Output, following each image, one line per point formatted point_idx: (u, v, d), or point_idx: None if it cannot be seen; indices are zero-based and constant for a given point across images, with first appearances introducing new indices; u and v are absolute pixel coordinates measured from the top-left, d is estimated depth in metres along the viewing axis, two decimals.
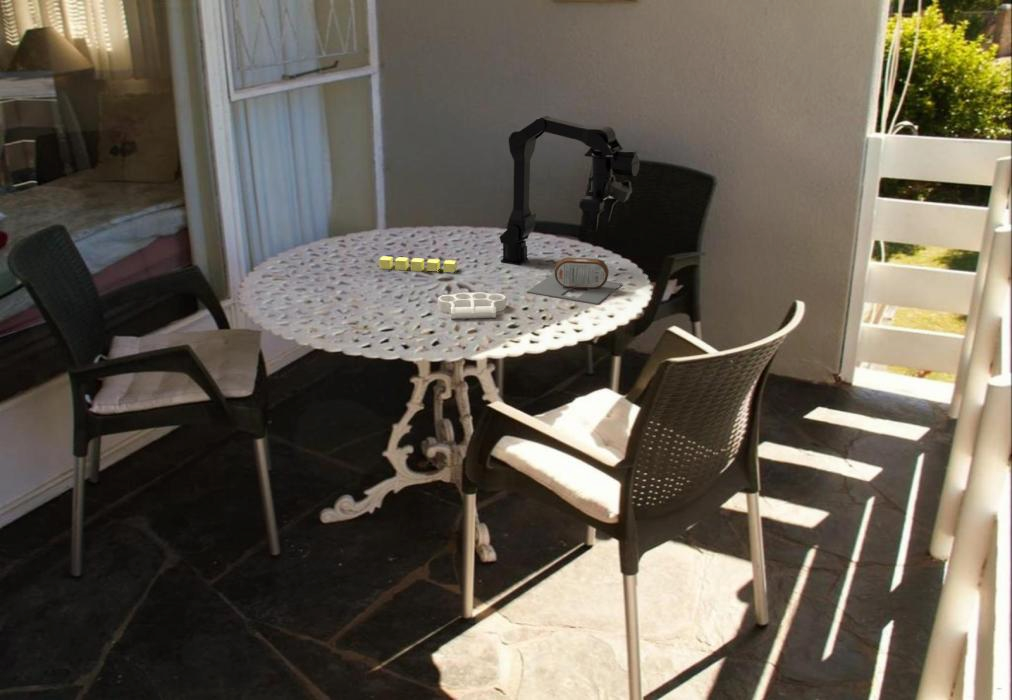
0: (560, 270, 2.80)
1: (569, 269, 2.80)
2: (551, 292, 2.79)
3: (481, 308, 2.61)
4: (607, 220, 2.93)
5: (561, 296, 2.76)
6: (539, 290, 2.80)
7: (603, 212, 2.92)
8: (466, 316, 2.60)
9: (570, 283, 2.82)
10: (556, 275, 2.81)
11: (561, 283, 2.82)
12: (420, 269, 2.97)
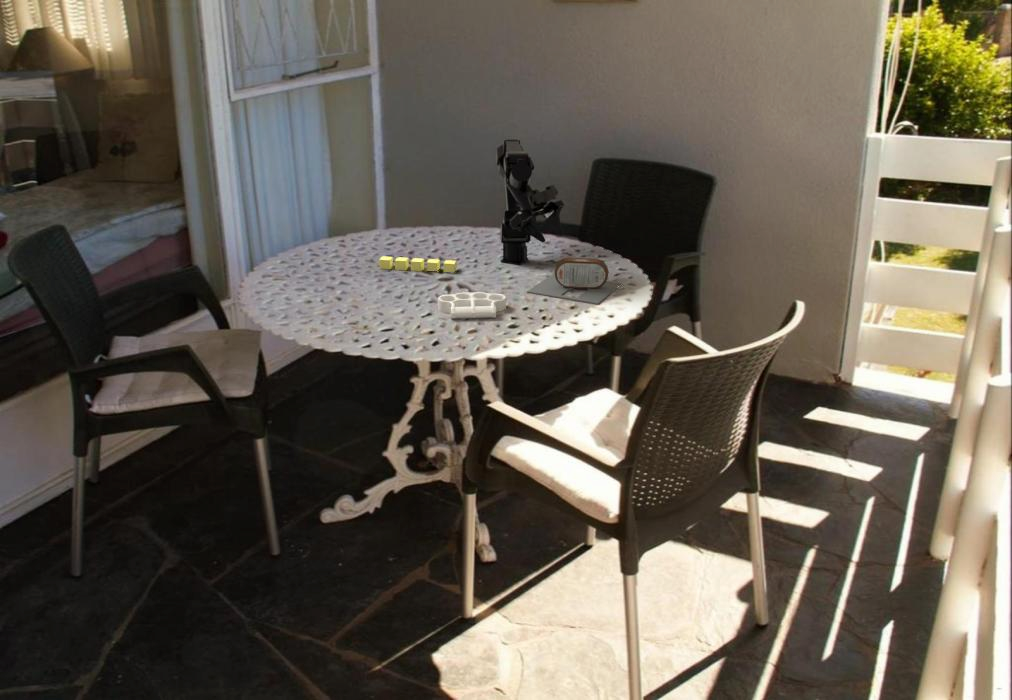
0: (560, 270, 2.80)
1: (569, 269, 2.80)
2: (551, 292, 2.79)
3: (481, 308, 2.61)
4: (561, 233, 2.88)
5: (561, 296, 2.76)
6: (539, 290, 2.80)
7: (554, 229, 2.89)
8: (466, 316, 2.60)
9: (570, 283, 2.82)
10: (556, 275, 2.81)
11: (561, 283, 2.82)
12: (420, 269, 2.97)
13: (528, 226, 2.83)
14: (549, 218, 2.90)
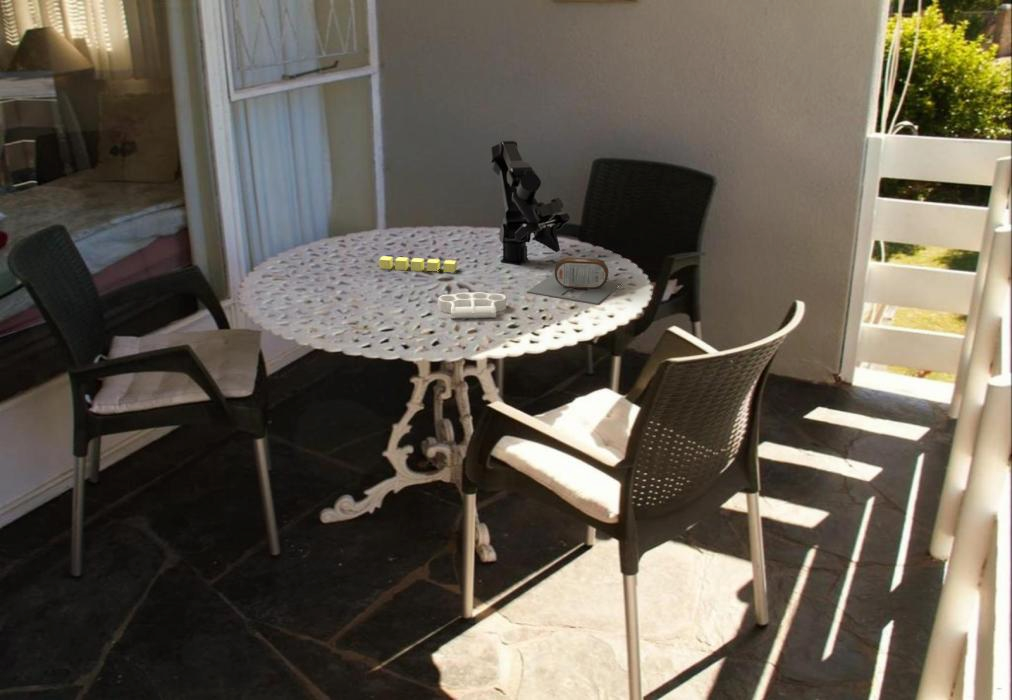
0: (560, 270, 2.80)
1: (569, 269, 2.80)
2: (551, 292, 2.79)
3: (481, 308, 2.61)
4: None
5: (561, 296, 2.76)
6: (539, 290, 2.80)
7: None
8: (466, 315, 2.60)
9: (570, 283, 2.82)
10: (556, 275, 2.81)
11: (561, 283, 2.82)
12: (420, 269, 2.97)
13: (542, 236, 2.85)
14: None
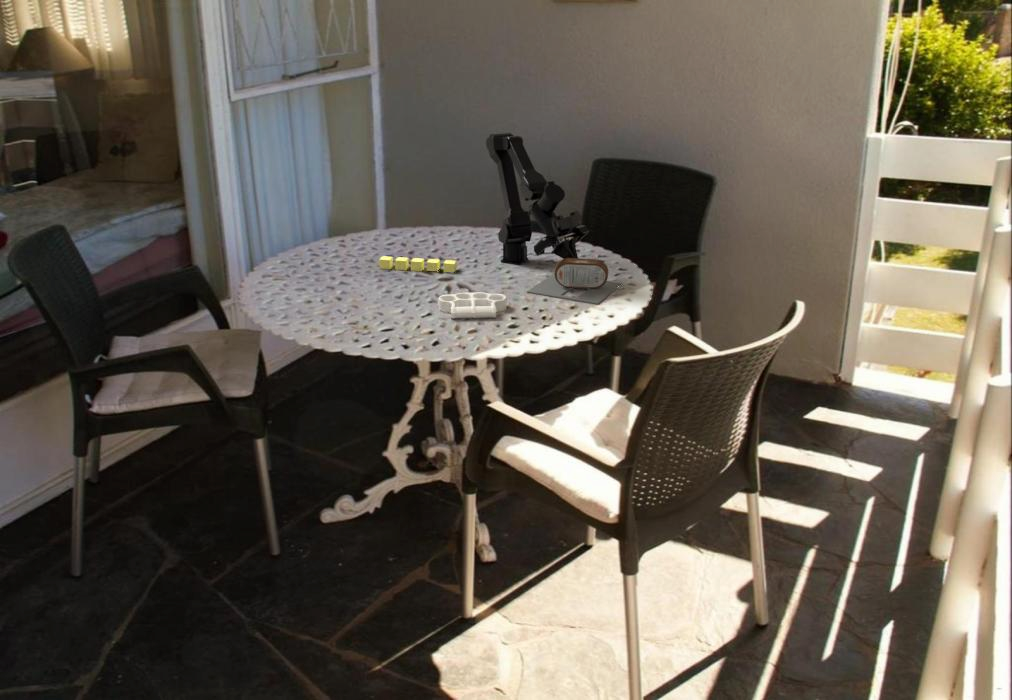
0: (560, 271, 2.80)
1: (569, 270, 2.79)
2: (551, 292, 2.79)
3: (481, 308, 2.61)
4: None
5: (561, 296, 2.76)
6: (539, 290, 2.80)
7: None
8: (466, 315, 2.60)
9: (570, 284, 2.82)
10: (556, 276, 2.81)
11: (561, 283, 2.82)
12: (420, 269, 2.97)
13: (561, 249, 2.82)
14: None
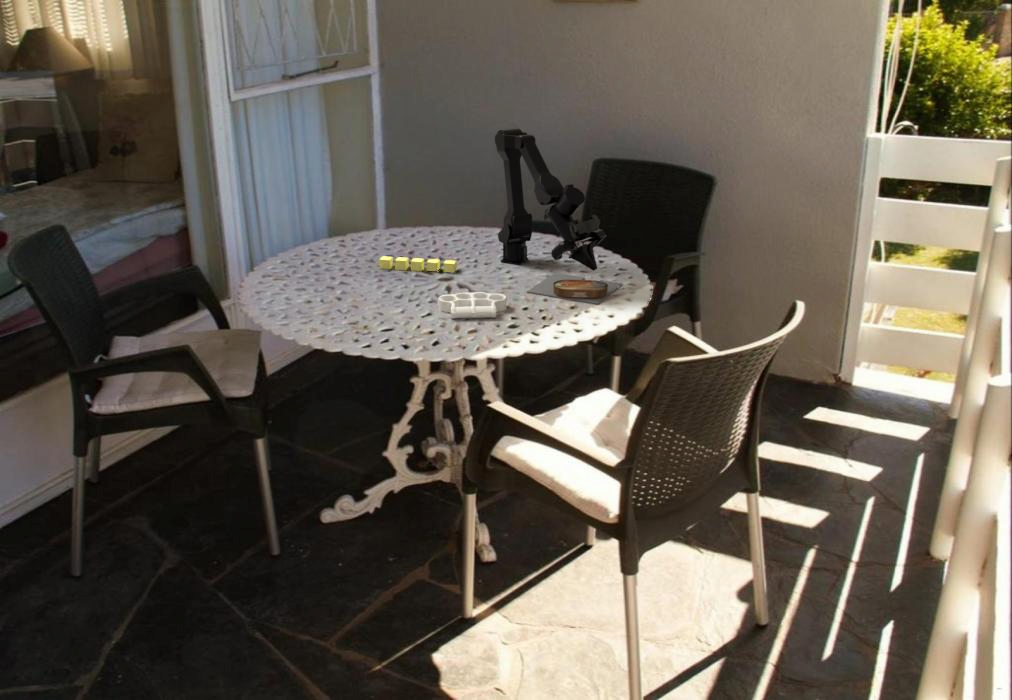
0: None
1: None
2: (551, 292, 2.79)
3: (481, 308, 2.61)
4: None
5: None
6: (539, 290, 2.80)
7: None
8: (466, 315, 2.60)
9: None
10: None
11: None
12: (420, 269, 2.97)
13: (579, 254, 2.78)
14: None
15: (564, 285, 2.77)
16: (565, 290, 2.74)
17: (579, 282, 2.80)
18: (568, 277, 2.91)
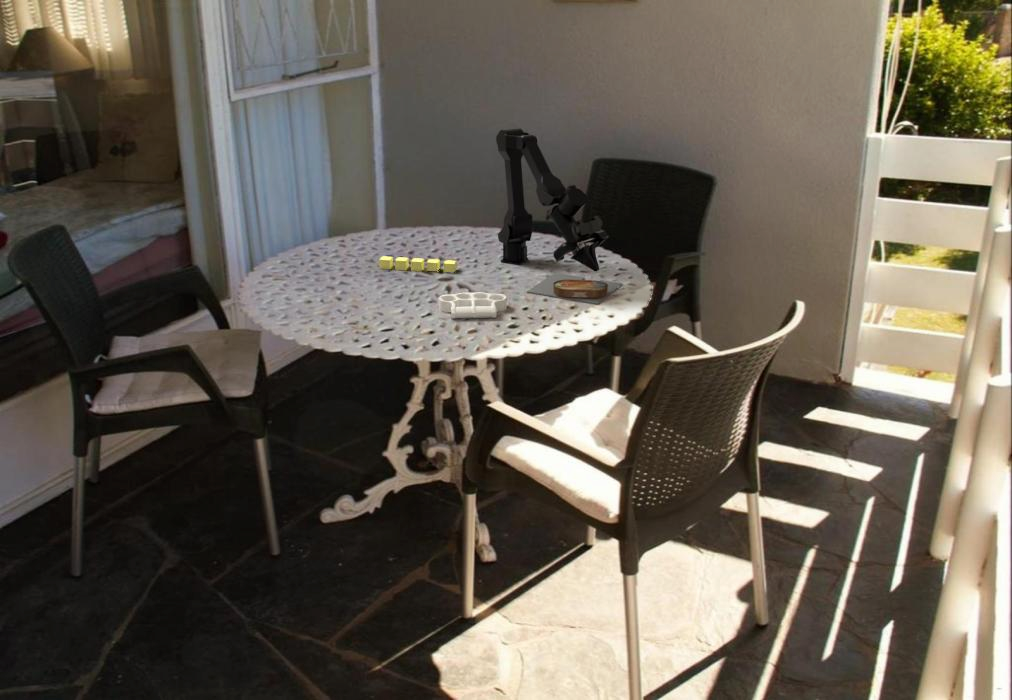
0: None
1: None
2: (551, 292, 2.79)
3: (481, 308, 2.61)
4: None
5: None
6: (539, 290, 2.80)
7: None
8: (467, 315, 2.60)
9: None
10: None
11: None
12: (420, 269, 2.97)
13: (581, 255, 2.78)
14: None
15: (564, 285, 2.77)
16: (565, 290, 2.74)
17: (579, 282, 2.80)
18: (568, 277, 2.91)
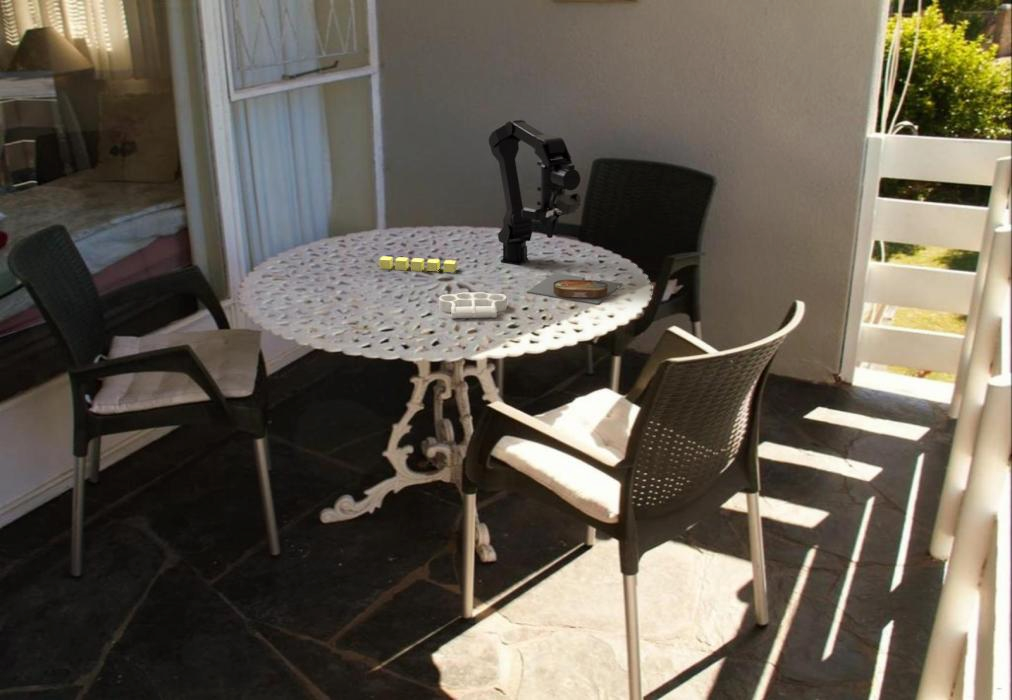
0: None
1: None
2: (551, 292, 2.79)
3: (482, 308, 2.61)
4: None
5: None
6: (539, 290, 2.80)
7: None
8: (467, 315, 2.60)
9: None
10: None
11: None
12: (420, 269, 2.97)
13: None
14: None
15: (564, 285, 2.77)
16: (565, 290, 2.74)
17: (579, 282, 2.80)
18: (568, 277, 2.91)
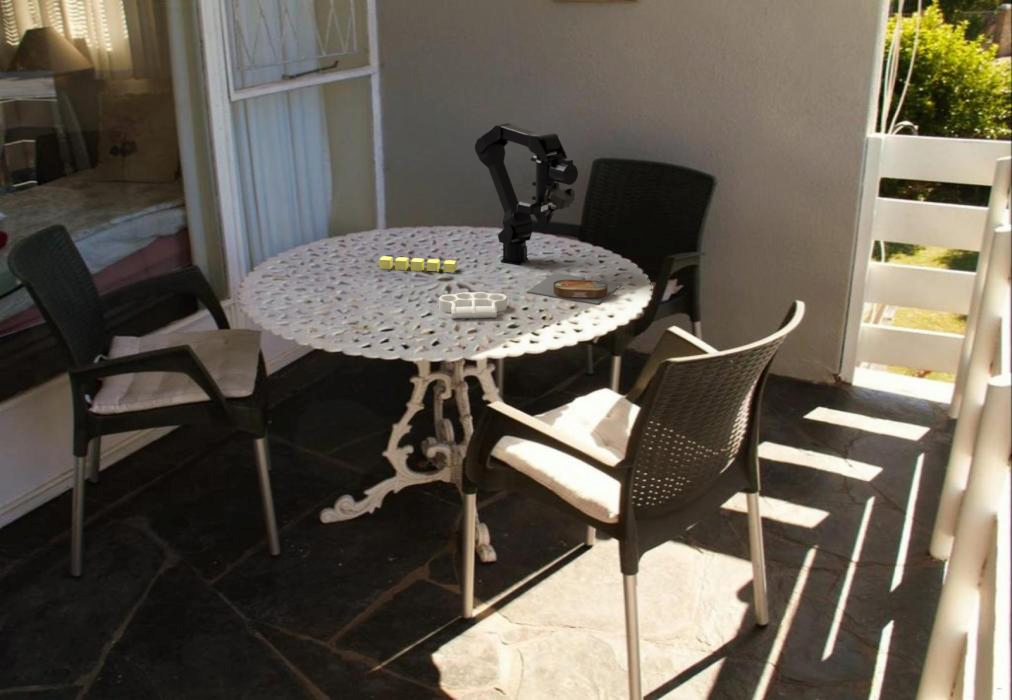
0: None
1: None
2: (551, 292, 2.79)
3: (482, 308, 2.61)
4: None
5: None
6: (539, 290, 2.80)
7: None
8: (467, 315, 2.60)
9: None
10: None
11: None
12: (420, 269, 2.97)
13: None
14: None
15: (564, 285, 2.77)
16: (565, 290, 2.74)
17: (579, 282, 2.80)
18: (568, 277, 2.91)
